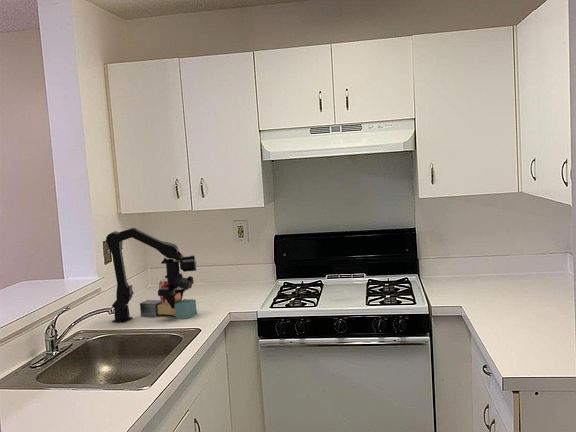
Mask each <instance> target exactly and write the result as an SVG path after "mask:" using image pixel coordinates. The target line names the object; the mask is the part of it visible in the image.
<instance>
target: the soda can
mask: <svg viewBox="0 0 576 432" xmlns="http://www.w3.org/2000/svg"><path fill="white" fill-rule="evenodd" d="M167 284H168V282H167V278H162V279H159V283H158V290H159V289H161V288H169V287H166V285H167ZM159 300H162V303H168V301H167V300H166V298H165V297H164V296H159Z"/></svg>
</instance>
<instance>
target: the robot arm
mask: <svg viewBox="0 0 576 432" xmlns="http://www.w3.org/2000/svg"><path fill="white" fill-rule="evenodd" d="M131 238H132V239H134V240H137V241H138V242H141V243H142V244H145V245H146V246H149V247H151V248H153V249H155V250H157V251H158V252H159V253H160V254H161V255H162V256H164V258H163V260H162V261H161V262H160V264H162V265H165V270H166V275H164V279H167V282H168V284H167V285H166V287H169V288H161V289H159V288H158V290H157V296H158V297H160V296H164V297H165V298H166V300H167V301H168V303H169V305H170V306H171V308H172V309H174V306H175V296H176V294H175V292H180V293H181V300H183V296H184V293H185V292H186V291H188V290H190V289H192V287H193V285H194V284H195V282H194V277H193V276H191V275H189V276H188V277H183V273H185V272H195V271H197V261H196V257H195V255H188V256H184V255H183V254H182V253H181V251H179V247H178V245H176V244H175V243H171V242H168V241H162V240H160V239H158V238H157V237H154V236H151V235H150V234H148V233H146V232H143V231H141V230H139V229H138V228H136V227H131V228H129V229H128V228H127V229H126V230H123V231H117V230H116V231H113V232H110V233H109V234H107V236H106V239H105V242H106V244H107V248H108V249H109V252H110V253H111V257H112V261H113V266H114V273H115V278H116V279H115V280H116V284H117V285H116V294H115V297H116V299H115V301H114V302H113V303H112V305H111V307H112V308H113V307H114V308H115V313H114V312H113V314H114V319H113V320H111V322H113V323H126V322H128V321H130V320H131V319H133V317H132V316H131V315H130V307H129V302H130V301H131V300H132V298H133V295H134V294H135V293H134V290H133V284H130V285H129V282H128V279H127V273H126V268H125V262H124V257H123V252H122V250H123V242H124V241H126V240H129V239H131ZM180 271H183V273H181V272H180Z"/></svg>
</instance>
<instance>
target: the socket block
mask: <svg viewBox="0 0 576 432" xmlns="http://www.w3.org/2000/svg"><path fill="white" fill-rule="evenodd" d="M197 314H198V313H197V301H196V299H193V298H192V299H191V298H190V299H189V298H188V299H186V298H182V300H181V301H179V302H177V303H175V315H174V316H175V319H185V320H186V319H187V320H189V318H192V317H194V315H197Z"/></svg>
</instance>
